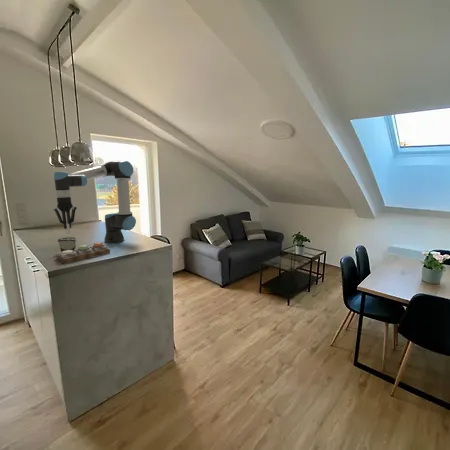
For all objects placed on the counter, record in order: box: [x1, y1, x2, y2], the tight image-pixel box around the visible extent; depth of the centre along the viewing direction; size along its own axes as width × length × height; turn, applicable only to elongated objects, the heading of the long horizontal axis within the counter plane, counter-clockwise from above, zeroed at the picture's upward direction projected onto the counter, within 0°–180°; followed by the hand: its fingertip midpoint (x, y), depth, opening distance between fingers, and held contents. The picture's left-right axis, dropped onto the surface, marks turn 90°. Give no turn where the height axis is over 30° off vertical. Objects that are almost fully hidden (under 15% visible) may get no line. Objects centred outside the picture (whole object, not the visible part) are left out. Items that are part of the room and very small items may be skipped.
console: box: [55, 244, 111, 265], centre depth 178 cm, size 29×14×5 cm, turn 139°
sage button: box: [77, 244, 89, 251], centre depth 178 cm, size 6×6×2 cm
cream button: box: [62, 250, 72, 255], centre depth 170 cm, size 6×6×2 cm
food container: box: [57, 236, 77, 252], centre depth 188 cm, size 12×6×10 cm, turn 92°
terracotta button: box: [92, 241, 104, 248], centre depth 185 cm, size 6×6×2 cm
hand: (68, 233), depth 170 cm, fingers closed
